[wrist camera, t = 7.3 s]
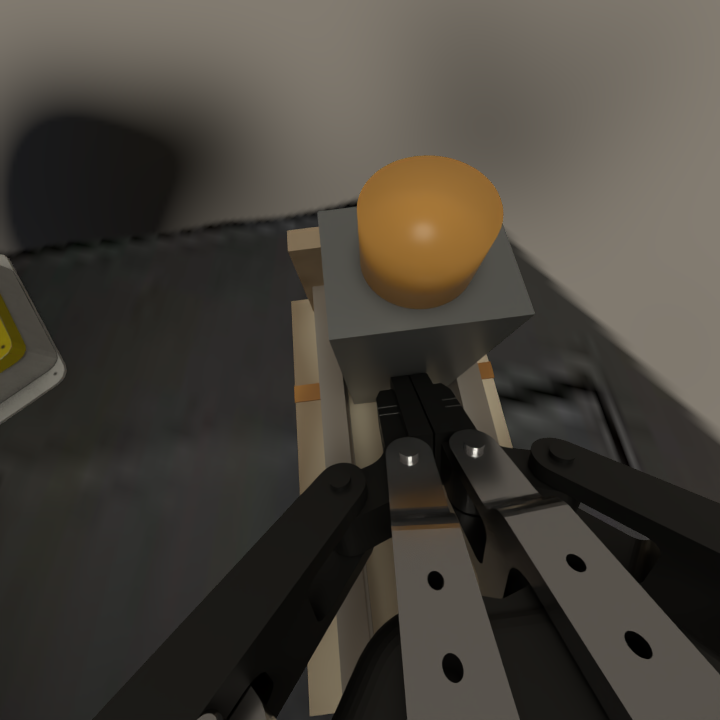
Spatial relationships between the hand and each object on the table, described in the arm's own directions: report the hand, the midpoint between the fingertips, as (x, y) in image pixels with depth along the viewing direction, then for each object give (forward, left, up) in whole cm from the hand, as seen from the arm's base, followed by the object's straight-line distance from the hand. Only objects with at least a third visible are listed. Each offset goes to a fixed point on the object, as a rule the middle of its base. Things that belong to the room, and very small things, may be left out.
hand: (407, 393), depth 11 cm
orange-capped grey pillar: (0, +3, -5) cm, 5 cm away
